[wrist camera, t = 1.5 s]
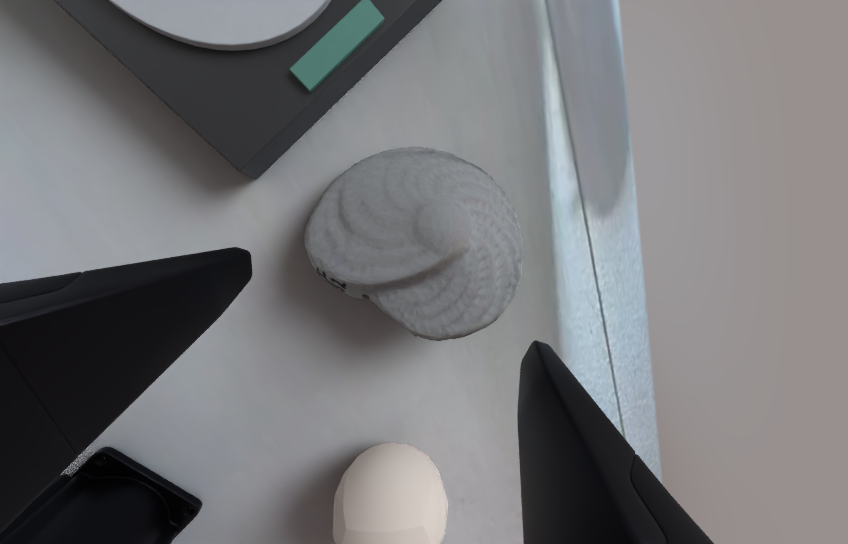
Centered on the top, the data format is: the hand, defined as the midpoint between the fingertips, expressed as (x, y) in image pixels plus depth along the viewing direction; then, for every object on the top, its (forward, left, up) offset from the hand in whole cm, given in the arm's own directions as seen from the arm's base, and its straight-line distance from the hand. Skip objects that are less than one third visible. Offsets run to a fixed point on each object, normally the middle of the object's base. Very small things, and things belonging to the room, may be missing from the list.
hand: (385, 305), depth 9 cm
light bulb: (-12, +10, -10) cm, 19 cm away
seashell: (-1, -4, -10) cm, 11 cm away
